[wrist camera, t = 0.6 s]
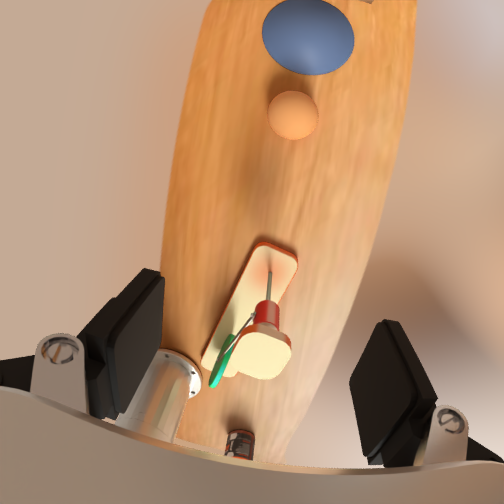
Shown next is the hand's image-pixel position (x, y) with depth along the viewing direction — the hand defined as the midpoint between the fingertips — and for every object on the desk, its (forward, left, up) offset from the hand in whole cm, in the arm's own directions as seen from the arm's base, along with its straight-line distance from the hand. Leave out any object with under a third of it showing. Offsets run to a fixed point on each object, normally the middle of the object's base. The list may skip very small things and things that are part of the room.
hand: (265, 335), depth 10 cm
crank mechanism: (-12, -17, -32) cm, 38 cm away
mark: (+12, +18, -32) cm, 38 cm away
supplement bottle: (-25, -46, -32) cm, 62 cm away
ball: (+5, +8, -29) cm, 30 cm away
